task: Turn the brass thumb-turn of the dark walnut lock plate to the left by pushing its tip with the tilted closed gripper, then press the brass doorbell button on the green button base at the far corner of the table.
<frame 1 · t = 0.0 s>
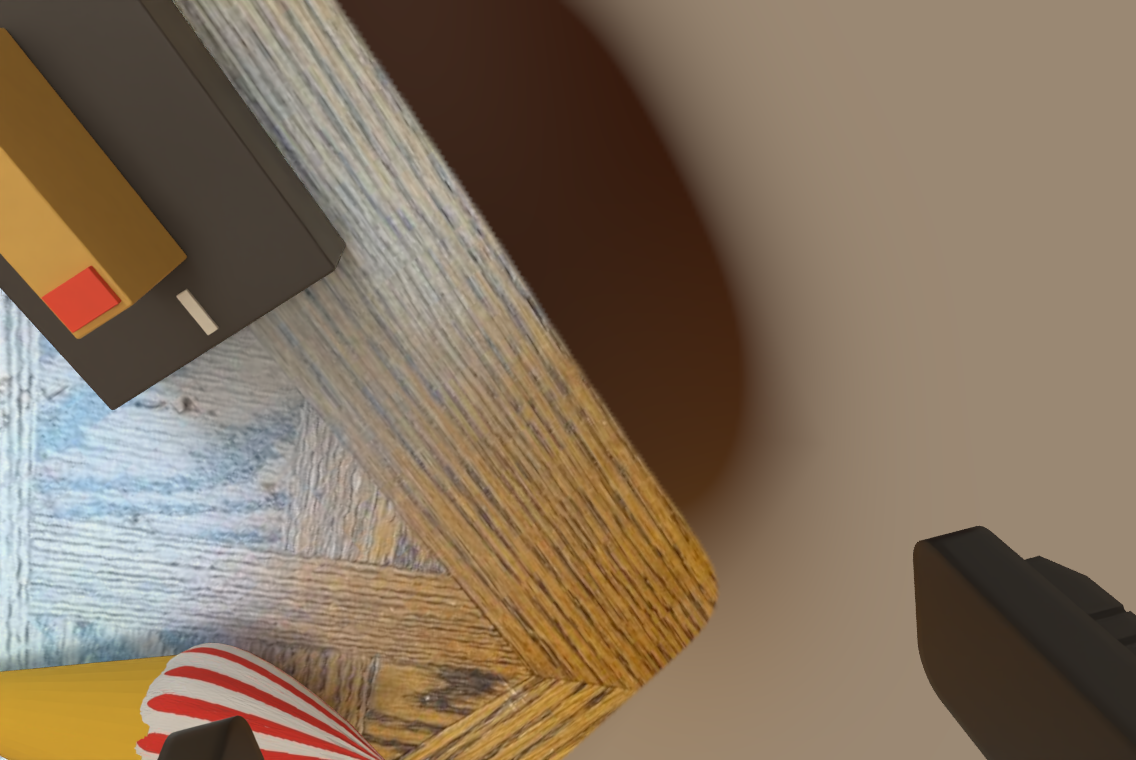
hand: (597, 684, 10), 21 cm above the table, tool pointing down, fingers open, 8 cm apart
lock knob: (37, 177, 21), point 6 cm above the table, hinge at 0.0°
lock plate: (120, 150, 27), on the table
ice cream cone: (141, 669, 34), on the table
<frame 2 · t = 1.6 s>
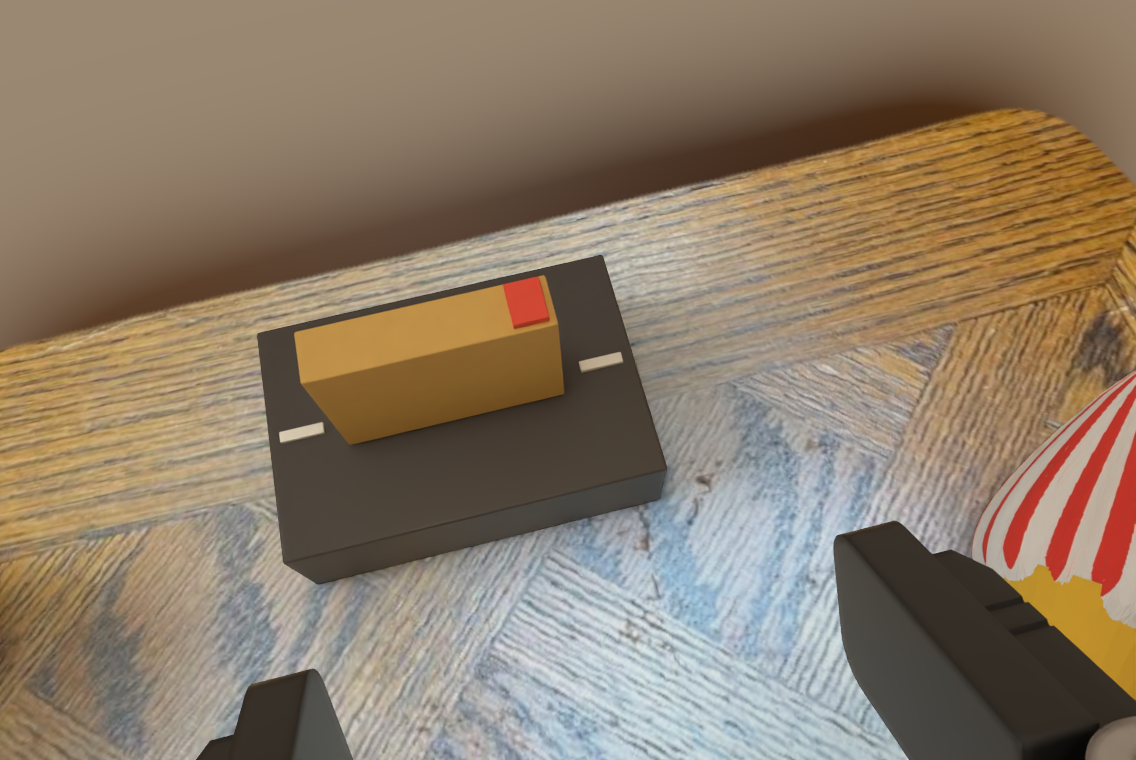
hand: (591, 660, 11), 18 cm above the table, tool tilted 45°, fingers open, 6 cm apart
lock knob: (439, 364, 26), point 6 cm above the table, hinge at 0.0°
lock plate: (468, 434, 32), on the table
ice cream cone: (1008, 668, 28), on the table
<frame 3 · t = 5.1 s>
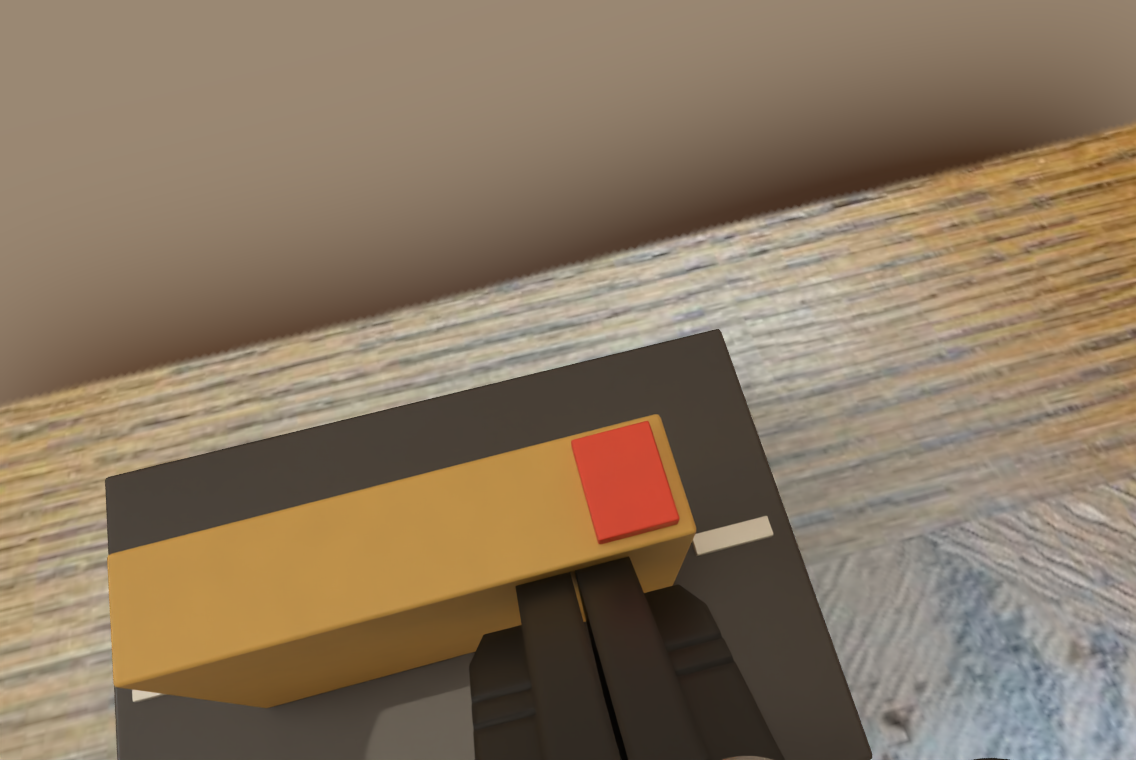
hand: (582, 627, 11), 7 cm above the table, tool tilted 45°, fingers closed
lock knob: (433, 579, 13), point 6 cm above the table, hinge at 0.5°, touching gripper
lock plate: (484, 632, 18), on the table
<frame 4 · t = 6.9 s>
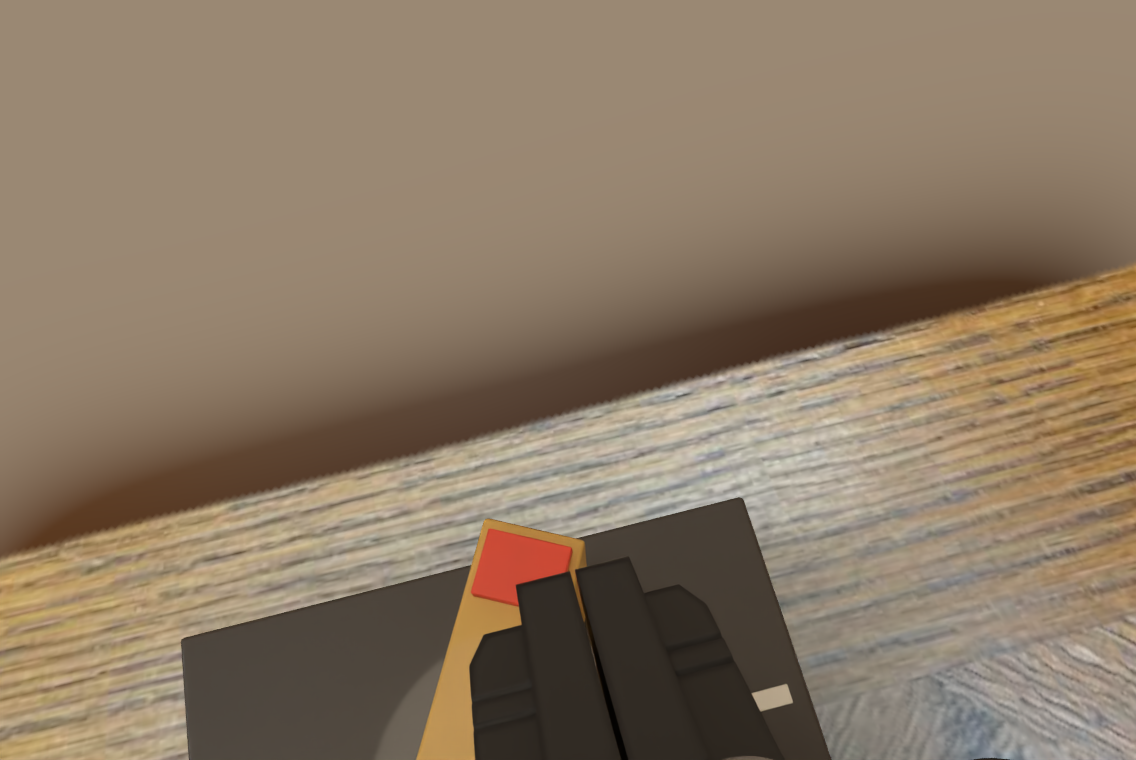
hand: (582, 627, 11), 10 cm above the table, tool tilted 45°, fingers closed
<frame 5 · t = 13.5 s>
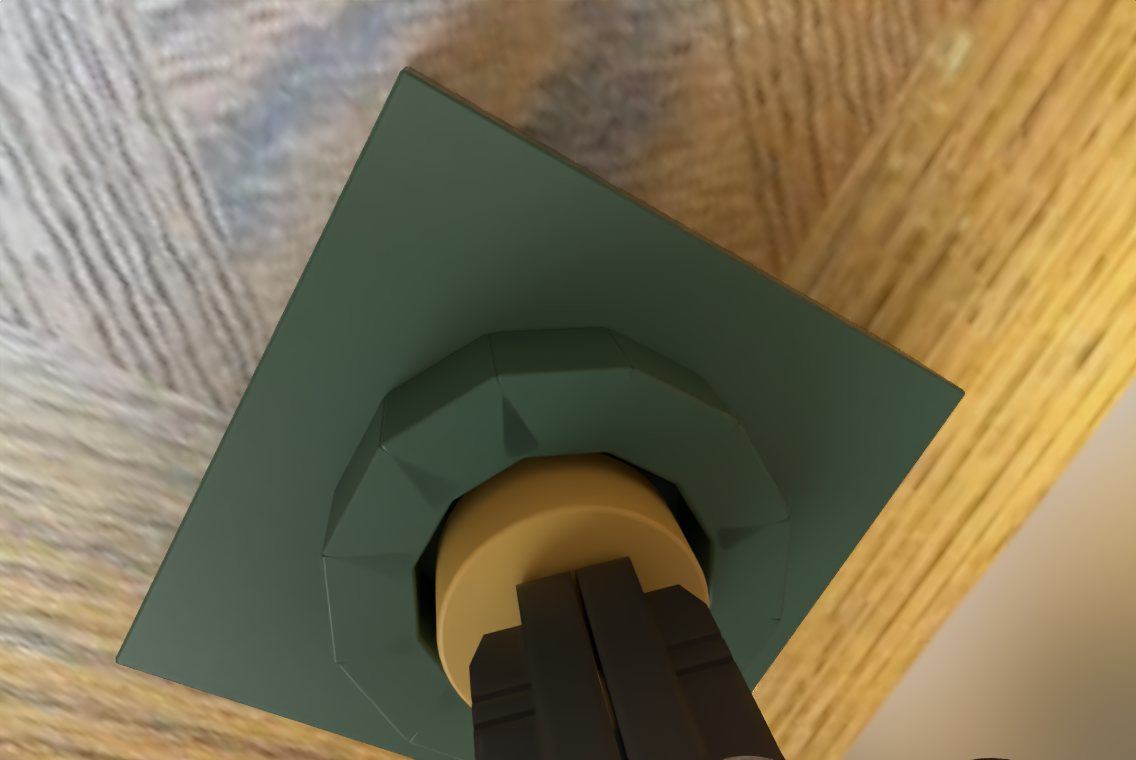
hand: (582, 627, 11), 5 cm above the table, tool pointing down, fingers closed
green button base: (533, 464, 16), on the table
bell button: (567, 591, 12), point 4 cm above the table, slide at -0.3 cm, touching gripper
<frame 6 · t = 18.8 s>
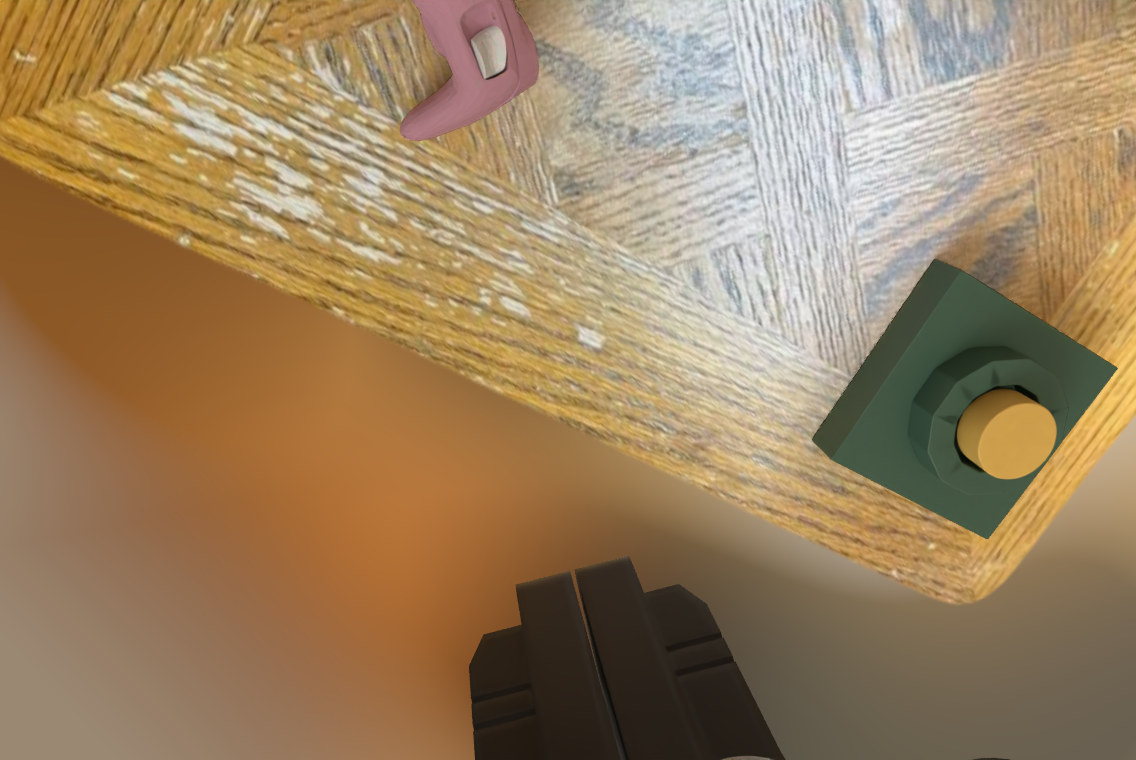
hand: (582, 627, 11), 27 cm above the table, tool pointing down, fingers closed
green button base: (949, 396, 43), on the table
bell button: (1005, 433, 38), point 4 cm above the table, slide at 0.1 cm
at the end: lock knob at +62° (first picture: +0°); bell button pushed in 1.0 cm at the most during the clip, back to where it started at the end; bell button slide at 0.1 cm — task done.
